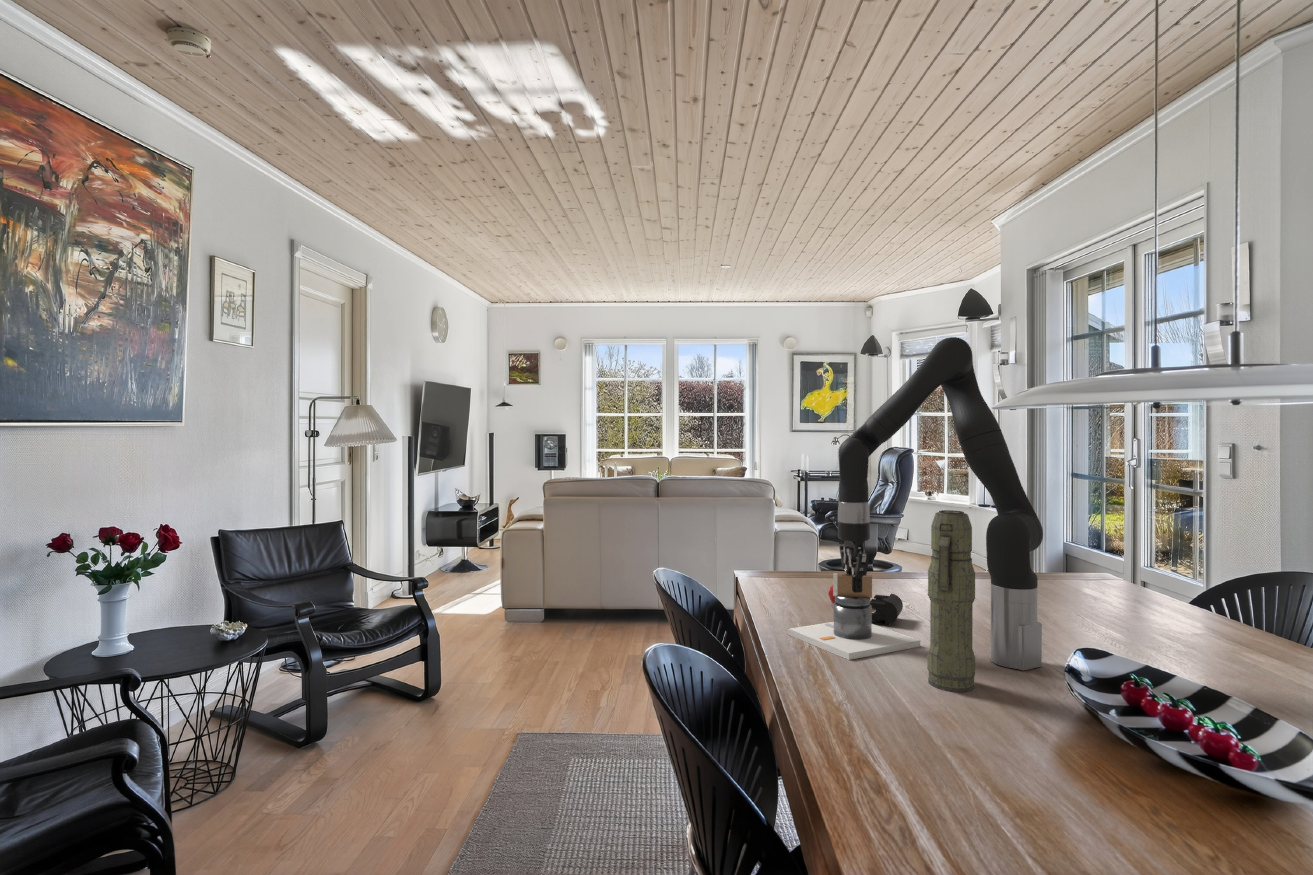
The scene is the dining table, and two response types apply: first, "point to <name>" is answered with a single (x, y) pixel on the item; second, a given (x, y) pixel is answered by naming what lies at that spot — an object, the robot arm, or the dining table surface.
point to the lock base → (854, 646)
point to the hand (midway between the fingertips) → (854, 589)
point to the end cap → (886, 609)
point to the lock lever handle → (845, 593)
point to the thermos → (951, 603)
